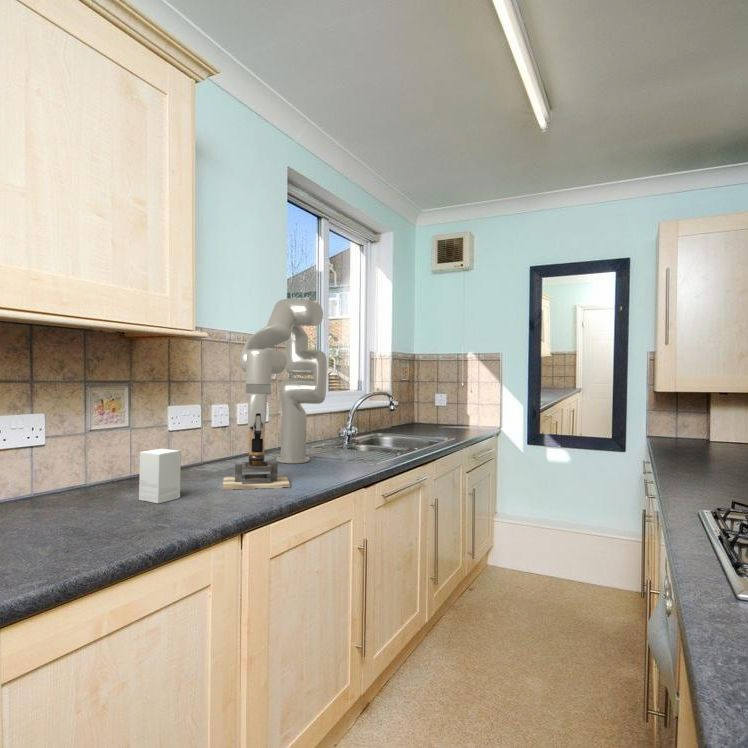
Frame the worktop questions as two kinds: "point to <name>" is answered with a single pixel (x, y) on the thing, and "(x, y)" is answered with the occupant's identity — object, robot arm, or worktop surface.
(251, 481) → the collar stand
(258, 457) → the tube
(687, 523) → the worktop surface
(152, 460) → the supplement box
